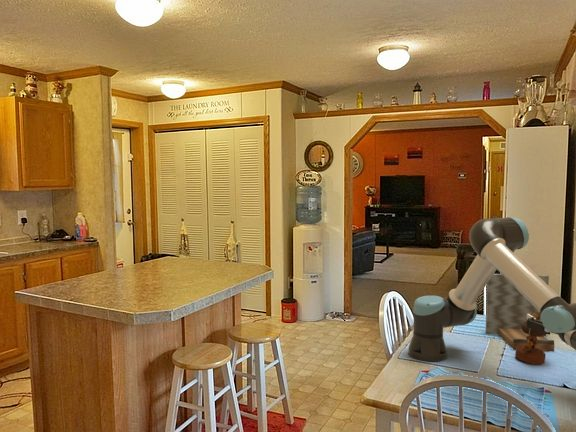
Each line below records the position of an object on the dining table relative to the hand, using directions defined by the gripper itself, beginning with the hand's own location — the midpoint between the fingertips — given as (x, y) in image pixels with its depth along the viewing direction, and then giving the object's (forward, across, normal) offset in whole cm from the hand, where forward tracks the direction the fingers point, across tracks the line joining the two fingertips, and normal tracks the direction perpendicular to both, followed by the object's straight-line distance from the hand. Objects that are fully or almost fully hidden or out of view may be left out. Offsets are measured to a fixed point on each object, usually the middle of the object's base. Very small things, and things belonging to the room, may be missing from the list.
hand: (547, 317), depth 173 cm
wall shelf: (+32, +4, -20) cm, 38 cm away
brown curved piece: (+12, -1, -20) cm, 24 cm away
